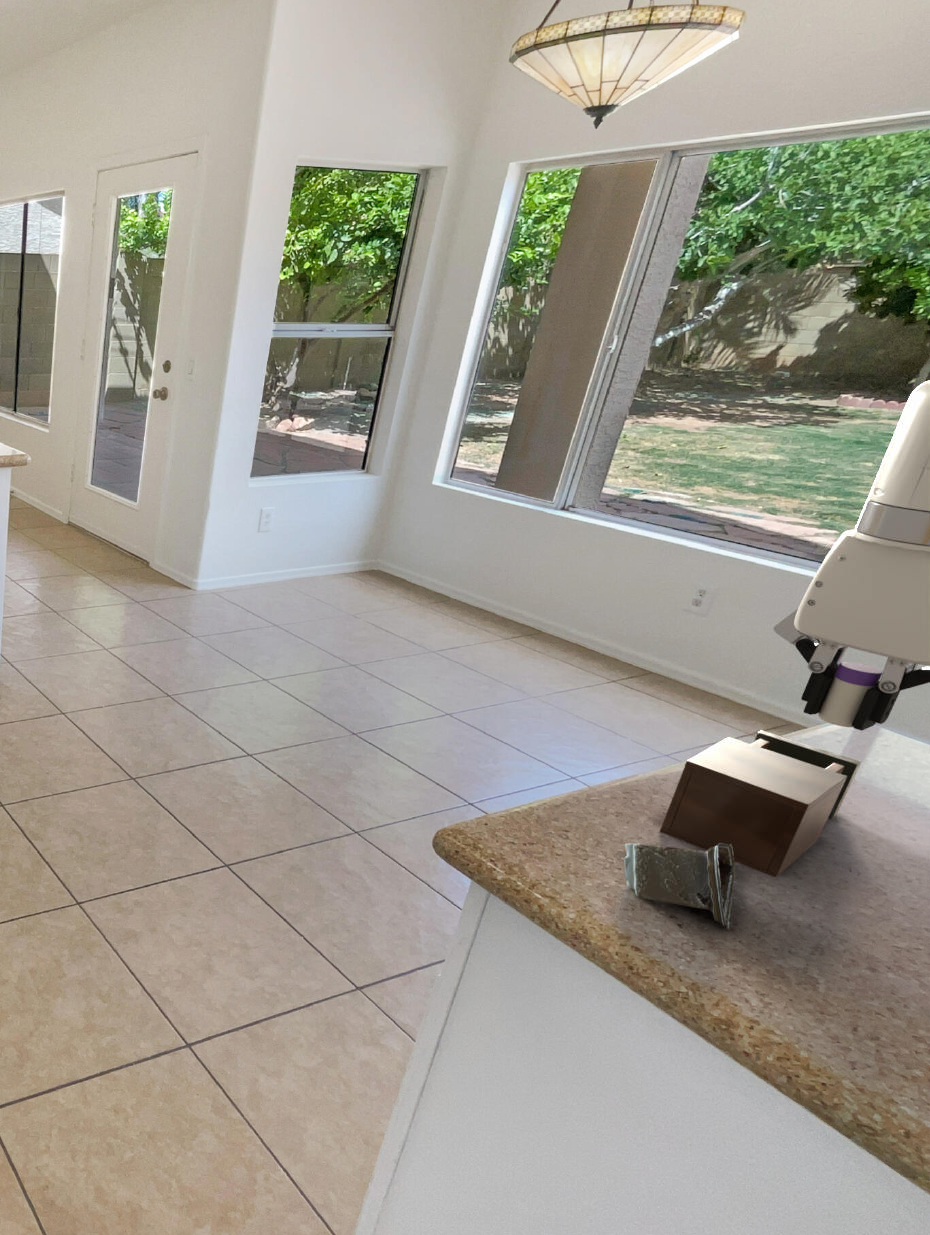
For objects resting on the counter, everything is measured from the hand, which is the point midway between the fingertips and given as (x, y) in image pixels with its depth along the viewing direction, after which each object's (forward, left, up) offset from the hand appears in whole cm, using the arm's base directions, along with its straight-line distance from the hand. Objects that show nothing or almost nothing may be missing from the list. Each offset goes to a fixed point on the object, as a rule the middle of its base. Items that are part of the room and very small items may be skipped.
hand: (839, 717), depth 78 cm
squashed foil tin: (+14, +8, -15) cm, 22 cm away
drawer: (-5, -8, -14) cm, 17 cm away
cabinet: (+3, -1, -15) cm, 15 cm away
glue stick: (0, 0, 0) cm, 0 cm away
